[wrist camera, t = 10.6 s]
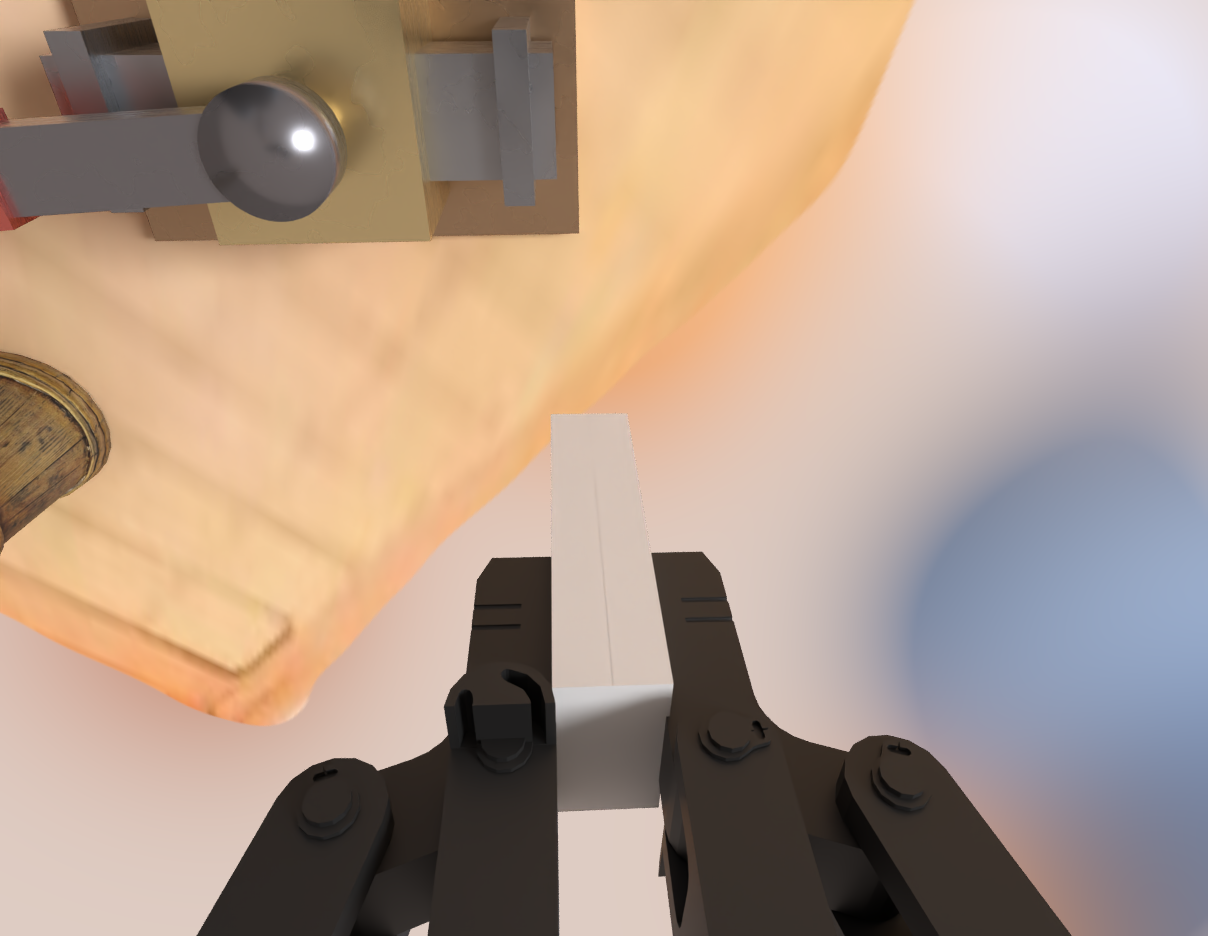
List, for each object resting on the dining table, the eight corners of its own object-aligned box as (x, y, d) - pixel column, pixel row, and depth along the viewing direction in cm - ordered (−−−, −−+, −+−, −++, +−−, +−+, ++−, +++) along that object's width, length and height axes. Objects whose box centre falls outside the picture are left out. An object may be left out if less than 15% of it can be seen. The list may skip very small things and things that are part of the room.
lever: (330, 70, 23) (311, 80, 22) (360, 199, 26) (346, 217, 24) (-198, 107, 23) (-262, 120, 21) (-119, 234, 25) (-170, 256, 24)
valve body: (59, -74, 29) (-136, -85, 20) (573, -72, 30) (582, -81, 22) (164, 234, 36) (50, 318, 27) (578, 227, 37) (587, 306, 28)
